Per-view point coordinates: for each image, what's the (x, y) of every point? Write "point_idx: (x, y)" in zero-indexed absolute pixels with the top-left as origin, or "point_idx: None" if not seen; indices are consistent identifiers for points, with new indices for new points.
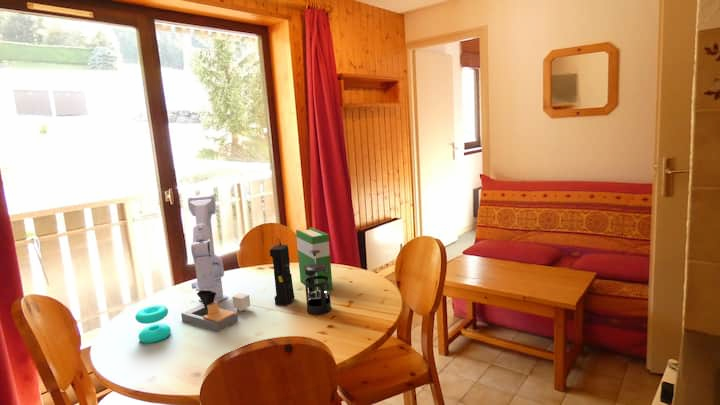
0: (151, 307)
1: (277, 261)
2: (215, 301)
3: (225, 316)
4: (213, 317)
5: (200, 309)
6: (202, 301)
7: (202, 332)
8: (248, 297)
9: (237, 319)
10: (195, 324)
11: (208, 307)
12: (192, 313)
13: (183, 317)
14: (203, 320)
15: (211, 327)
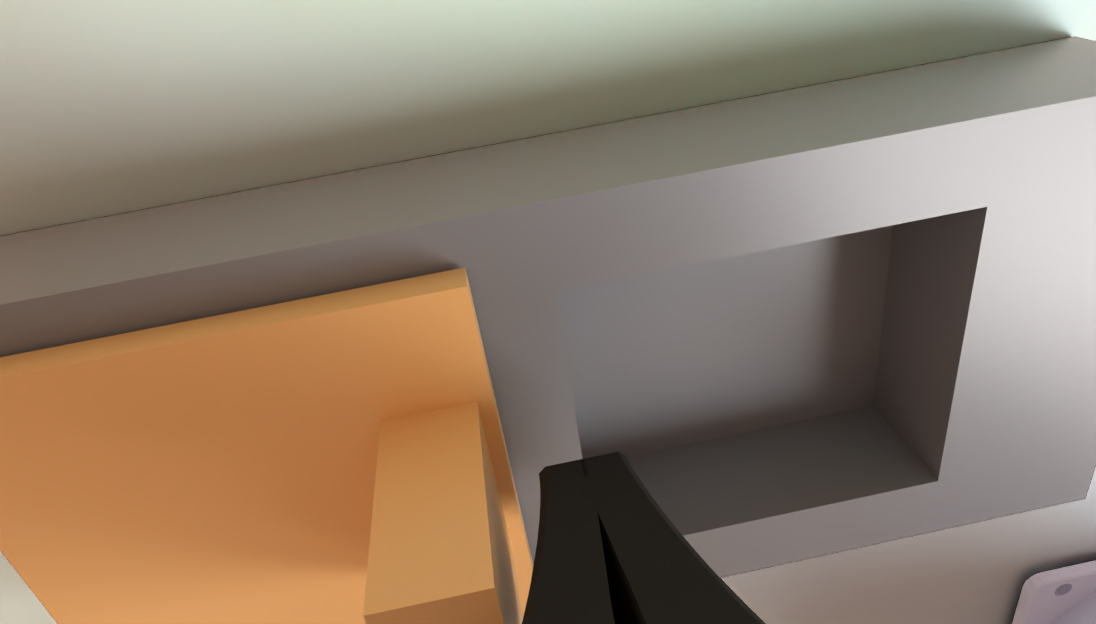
0: None
1: None
2: (1039, 620)
3: (37, 566)
4: (189, 404)
5: (944, 409)
6: (733, 617)
7: (189, 22)
8: None
9: None
10: (668, 114)
11: (439, 546)
12: (966, 240)
13: (1083, 65)
14: (390, 222)
15: (152, 223)
